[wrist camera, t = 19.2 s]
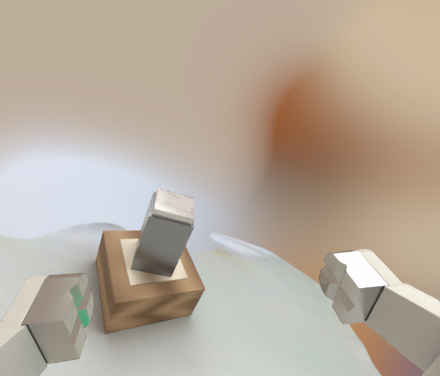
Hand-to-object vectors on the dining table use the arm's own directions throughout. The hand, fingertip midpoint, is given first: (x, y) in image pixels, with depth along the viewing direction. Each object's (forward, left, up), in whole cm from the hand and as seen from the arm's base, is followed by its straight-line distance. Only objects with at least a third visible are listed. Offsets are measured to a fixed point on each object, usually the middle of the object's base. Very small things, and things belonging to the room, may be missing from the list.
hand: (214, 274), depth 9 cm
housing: (+9, +20, -21) cm, 30 cm away
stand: (+9, +20, -28) cm, 35 cm away
